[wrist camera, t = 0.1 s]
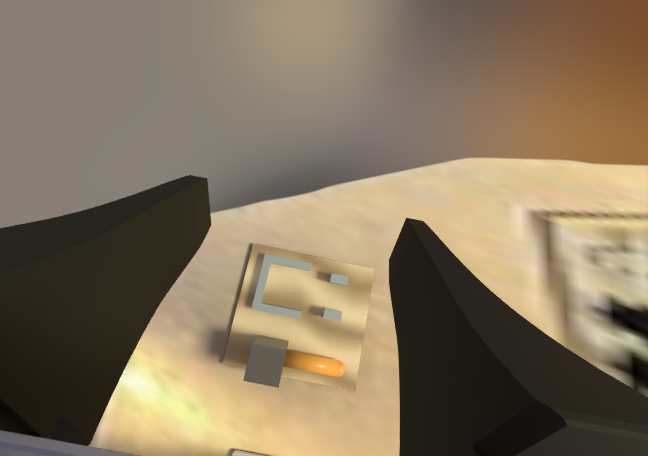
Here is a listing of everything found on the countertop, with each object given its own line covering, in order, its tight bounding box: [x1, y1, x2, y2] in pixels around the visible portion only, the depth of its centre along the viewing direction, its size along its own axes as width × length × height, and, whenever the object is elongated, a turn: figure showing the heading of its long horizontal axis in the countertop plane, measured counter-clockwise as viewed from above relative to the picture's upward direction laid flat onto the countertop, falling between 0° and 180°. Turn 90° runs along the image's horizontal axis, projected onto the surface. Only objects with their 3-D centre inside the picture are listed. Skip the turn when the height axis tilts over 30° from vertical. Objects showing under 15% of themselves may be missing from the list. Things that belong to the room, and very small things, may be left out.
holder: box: [252, 254, 311, 319], centre depth 40 cm, size 8×7×1 cm
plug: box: [243, 335, 345, 387], centre depth 36 cm, size 4×12×6 cm, turn 79°
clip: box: [322, 273, 349, 322], centre depth 40 cm, size 6×2×2 cm, turn 169°
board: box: [222, 244, 374, 391], centre depth 40 cm, size 16×18×1 cm
